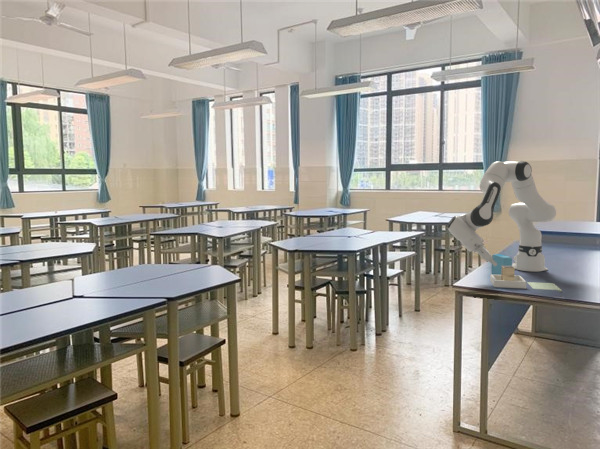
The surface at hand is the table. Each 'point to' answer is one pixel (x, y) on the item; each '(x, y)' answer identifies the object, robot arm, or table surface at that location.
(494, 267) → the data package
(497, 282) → the bin
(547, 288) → the pad
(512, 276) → the part box
